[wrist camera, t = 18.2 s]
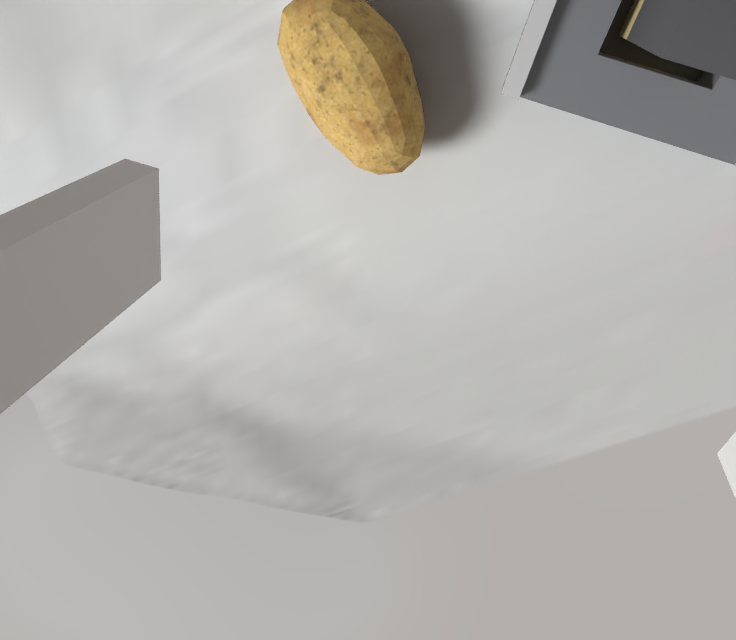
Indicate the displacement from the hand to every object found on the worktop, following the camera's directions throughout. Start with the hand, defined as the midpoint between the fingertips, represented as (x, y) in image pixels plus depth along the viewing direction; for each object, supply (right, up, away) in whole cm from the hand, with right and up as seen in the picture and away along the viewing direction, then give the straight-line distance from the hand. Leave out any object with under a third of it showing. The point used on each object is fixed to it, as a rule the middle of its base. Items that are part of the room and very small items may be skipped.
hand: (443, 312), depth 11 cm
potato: (-1, +15, +23) cm, 28 cm away
